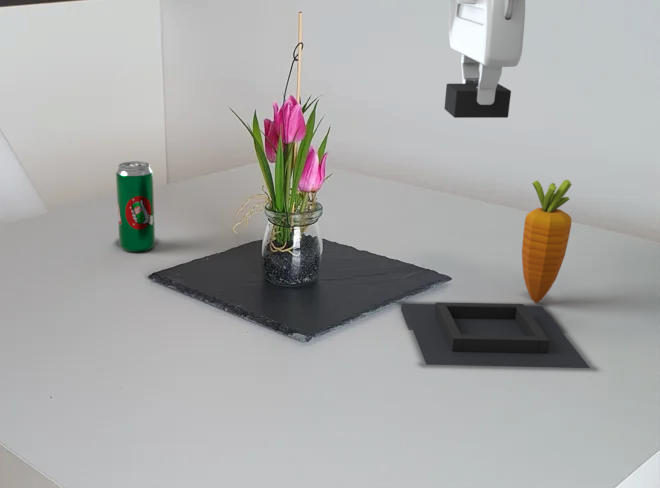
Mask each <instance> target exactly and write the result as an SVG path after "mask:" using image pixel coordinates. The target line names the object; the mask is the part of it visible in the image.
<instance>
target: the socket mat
mask: <svg viewBox="0 0 660 488" xmlns="http://www.w3.org/2000/svg"><path fill="white" fill-rule="evenodd" d="M400 310H401V312H402V315H403V318H404V320H405V323H406V326H407V328H408V330H409V331H412V332H413V335H414V337H415V339H416V342H417V345H418V347H419V350H420V353H421V355H422V357H423V360H424V363H425V365H426V366H469V367H470V366H471V367H510V368H513V367H514V368H552V369H553V368H557V369H558V368H559V369H560V368H561V369H591V367H590V366H589V364H588V363H587V362H586V360H585V359H584V358H583V357H582V355H581V354H580V353H579V352H578V350H577V349H576V347H574V345H573V344H572V343H571V341H570V340H569V338H567V336H566V335H565V334H564V332H563V331H562V330H561V328H560V327H559V326H558V324H557V323H556V322H555V321H554V320H553V318H552V317H551V316H550V315H549V313H548V312H547V310H546V309H545V308H544V306H543V305H525V304H523V303H492V302H491V303H490V302H487V303H486V302H435V303H401V306H400Z"/></svg>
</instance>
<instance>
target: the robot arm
mask: <svg viewBox="0 0 660 488" xmlns="http://www.w3.org/2000/svg"><path fill="white" fill-rule="evenodd" d="M448 7H449V8H448V37H449V38H448V39H449V45H450V49H451V50H454V51H455V52H457V53H459V54H461V59H460V60H461V61H460V64H461V65H460V67H461V75H462V76H461V77H462V83H461V84H478V87H476V96H475V100H476V102H477V103H479V104H480V105H491V104H493V103H494V99H495V91H496V87H497V84H499V82H500V79H501V76H502V71H503V68H511V67H512V68H514V67H517V66H518V65H519V63H520V60H521V57H522V53H523V46H524V36H525V35H524V34H525V21H526V20H525V19H526V0H449V5H448Z"/></svg>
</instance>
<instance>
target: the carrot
mask: <svg viewBox="0 0 660 488" xmlns="http://www.w3.org/2000/svg"><path fill="white" fill-rule="evenodd" d="M532 187H534V190H535V192H536V195H537V197H538V200H539V203H540V205H541V207H537V208H535V209H533V210H531V211H530V212H528V213H526V216H525V219H524V225H523V226H524V227H523V234H522V247H521V261H522V275H523V280H524V283H525V287H526V290H527V293H528V295H529V297H530V300H531V301H533V303H534V304H538V303H540V301H542V300H543V299H544V297H545V296H546V295H547V293H548V292H549V291H550V290H551V288H552V286H553V285H554V283H555V281H556V280H557V278H558V275H559V272H560V270H561V267H562V264H563V262H564V259H565V256H566V252H567V247H568V244H569V238H570V232H571V227H572V217H571V216H570V215H569V213H567V212H565V211H563V210H562V209H559V208H560V207H561V206H563V205H564V204H566V203H567V202H568V201H569V200H570V198H569V196H565V194H567V192H568V191H569V190H570V188H571V187H572V183H571V181H570V180H568V179H564V180H563V181H562V183H561V184H560V185H559V186H558V187H557V186H556V183H555V182H552V183H550V184H549V185H548V188H547V191H546V193H545V192H544V189H543V187H542V185H541V183H540V181H539V180H534V181H533V182H532Z"/></svg>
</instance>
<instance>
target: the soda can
mask: <svg viewBox="0 0 660 488" xmlns="http://www.w3.org/2000/svg"><path fill="white" fill-rule="evenodd" d="M117 167H118V168H117V170H116V172H115V182H116V202H117V204H116V205H117V223H118V225H117V226H118V243H119V244H118V245H119V246H120V248H121V249H122V250H123V251H126V252H129V253H144V252H148V251H150V250H151V249H153V247H154V246H155V245H156V230H155V200H154V199H155V197H154V194H155V193H154V171H153V170H152V168H151V164H150V163H149V162H146V161H139V160H138V161H137V160H136V161H135V160H134V161H133V160H132V161H125V162H120V163H119V164H118V166H117Z"/></svg>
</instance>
